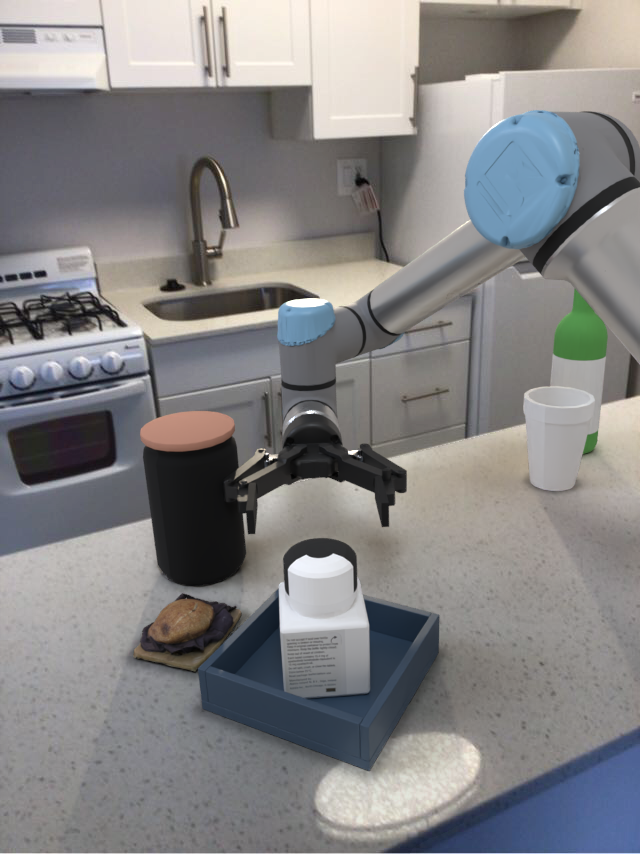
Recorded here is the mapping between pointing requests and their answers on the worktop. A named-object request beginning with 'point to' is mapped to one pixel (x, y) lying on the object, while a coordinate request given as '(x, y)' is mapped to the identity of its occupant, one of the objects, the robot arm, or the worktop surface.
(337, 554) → the container
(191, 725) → the worktop surface
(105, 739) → the worktop surface
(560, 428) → the foam cup
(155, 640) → the bread roll
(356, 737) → the tote
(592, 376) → the wine bottle
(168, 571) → the coffee jar
